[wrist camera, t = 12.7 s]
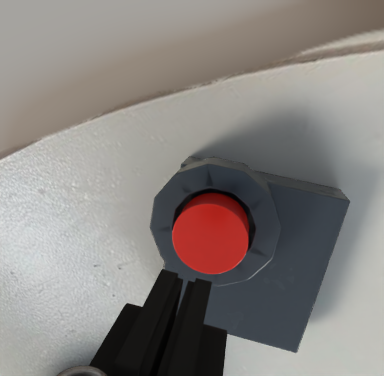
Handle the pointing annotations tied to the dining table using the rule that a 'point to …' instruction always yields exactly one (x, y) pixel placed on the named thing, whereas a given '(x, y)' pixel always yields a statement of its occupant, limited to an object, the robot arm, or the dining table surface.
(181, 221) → the plunger
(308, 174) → the dining table surface
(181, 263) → the button box
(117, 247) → the dining table surface
